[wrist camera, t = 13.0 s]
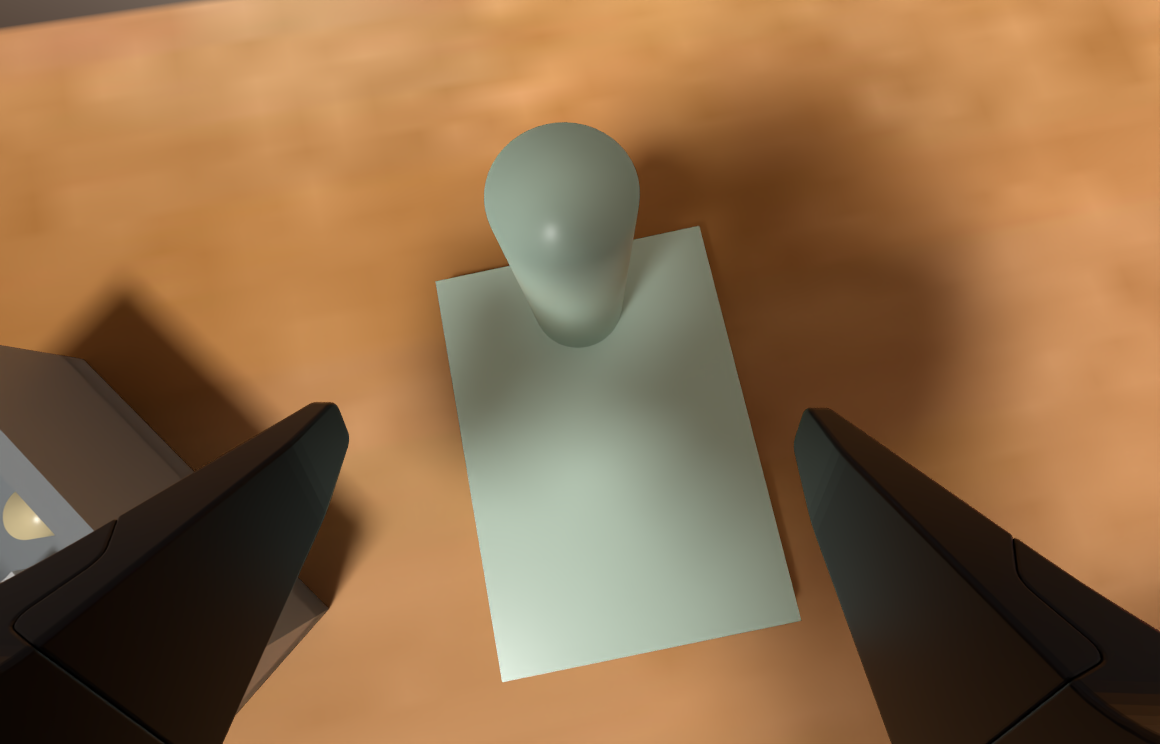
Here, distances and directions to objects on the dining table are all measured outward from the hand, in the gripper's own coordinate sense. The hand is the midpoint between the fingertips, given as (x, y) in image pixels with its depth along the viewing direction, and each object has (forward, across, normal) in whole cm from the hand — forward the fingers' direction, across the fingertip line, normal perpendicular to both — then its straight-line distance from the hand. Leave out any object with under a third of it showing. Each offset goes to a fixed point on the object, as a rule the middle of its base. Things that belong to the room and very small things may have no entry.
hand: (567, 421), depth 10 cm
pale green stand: (+6, -1, +6) cm, 9 cm away
